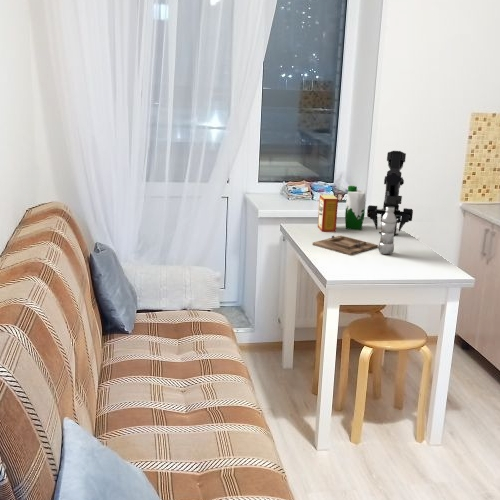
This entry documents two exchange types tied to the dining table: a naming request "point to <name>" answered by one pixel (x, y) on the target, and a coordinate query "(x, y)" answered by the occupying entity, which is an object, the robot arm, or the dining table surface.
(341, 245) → the walnut bottle stand
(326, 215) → the baking soda box
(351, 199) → the milk carton
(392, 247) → the plastic bottle
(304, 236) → the dining table surface
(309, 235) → the dining table surface
